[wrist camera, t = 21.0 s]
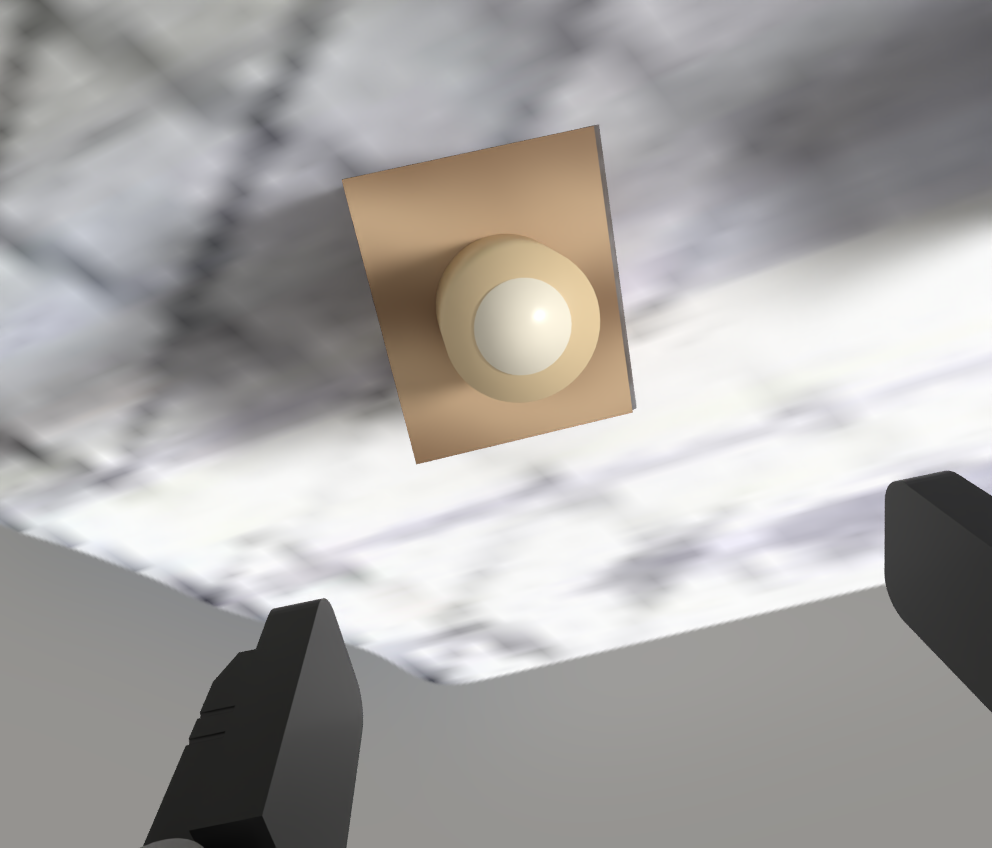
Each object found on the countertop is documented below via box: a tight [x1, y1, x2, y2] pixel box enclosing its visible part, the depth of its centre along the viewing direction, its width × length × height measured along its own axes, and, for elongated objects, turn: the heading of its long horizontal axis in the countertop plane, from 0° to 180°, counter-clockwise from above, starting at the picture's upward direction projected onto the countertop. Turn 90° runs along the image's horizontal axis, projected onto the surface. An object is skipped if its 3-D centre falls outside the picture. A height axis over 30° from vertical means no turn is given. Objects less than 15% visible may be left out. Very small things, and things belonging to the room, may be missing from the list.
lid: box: [342, 125, 636, 464], centre depth 29 cm, size 12×10×1 cm
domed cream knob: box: [436, 234, 600, 403], centre depth 27 cm, size 6×6×4 cm
